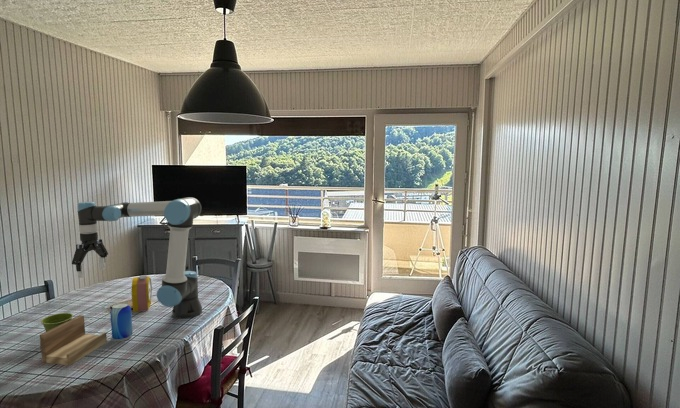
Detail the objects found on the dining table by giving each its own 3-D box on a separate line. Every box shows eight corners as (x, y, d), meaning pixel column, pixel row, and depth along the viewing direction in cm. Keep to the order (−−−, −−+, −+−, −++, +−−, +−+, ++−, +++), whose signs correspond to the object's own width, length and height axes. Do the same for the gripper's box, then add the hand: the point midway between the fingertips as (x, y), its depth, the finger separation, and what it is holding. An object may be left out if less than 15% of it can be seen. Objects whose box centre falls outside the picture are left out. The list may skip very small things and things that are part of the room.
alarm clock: (149, 311, 210) (147, 279, 208) (132, 313, 207) (130, 280, 205) (152, 301, 224) (151, 271, 222) (136, 303, 221) (135, 272, 219)
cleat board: (106, 342, 174) (105, 317, 173) (69, 365, 155) (67, 337, 153) (81, 339, 176) (80, 315, 175) (42, 362, 157) (39, 334, 155)
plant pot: (39, 349, 167) (37, 325, 166) (47, 338, 178) (45, 315, 177) (71, 344, 172) (69, 321, 170) (77, 333, 183) (75, 311, 181)
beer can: (123, 343, 174) (121, 309, 172) (107, 341, 176) (105, 307, 174) (136, 334, 182) (134, 302, 180) (121, 333, 184) (119, 301, 182)
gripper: (101, 227, 205) (104, 266, 207) (60, 237, 180) (64, 280, 183) (113, 228, 203) (116, 266, 206) (73, 237, 179) (77, 281, 182)
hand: (92, 273), depth 194 cm, fingers open, 13 cm apart
